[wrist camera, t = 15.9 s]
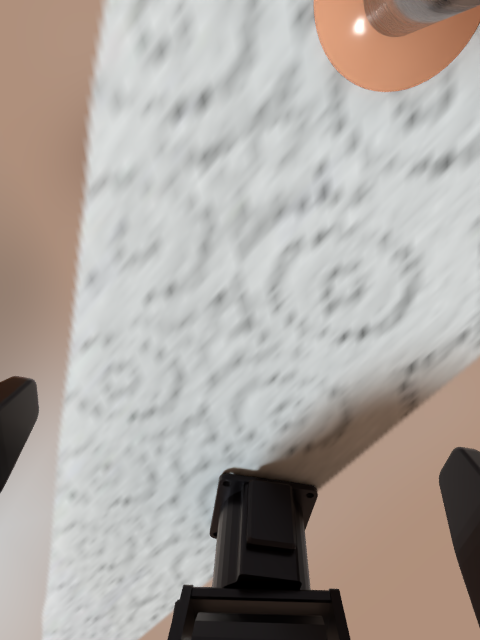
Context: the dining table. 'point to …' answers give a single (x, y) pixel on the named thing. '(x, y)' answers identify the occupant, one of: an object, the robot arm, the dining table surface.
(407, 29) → the steel peg
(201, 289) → the dining table surface
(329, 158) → the dining table surface
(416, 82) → the marker disc
